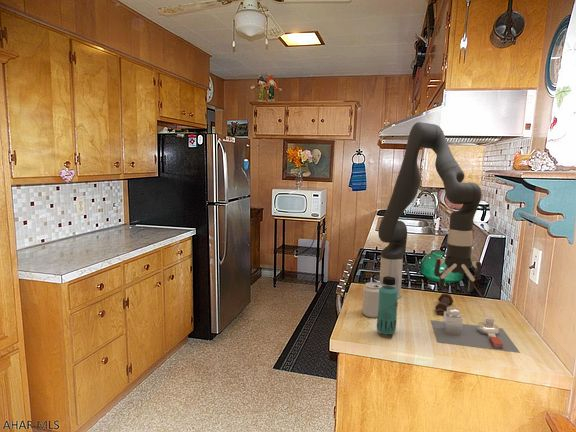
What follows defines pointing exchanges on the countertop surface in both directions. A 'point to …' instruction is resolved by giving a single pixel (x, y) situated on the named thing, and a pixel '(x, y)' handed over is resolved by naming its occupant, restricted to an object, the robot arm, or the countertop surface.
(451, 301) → the bolt
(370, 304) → the can
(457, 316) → the metal block with knob
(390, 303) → the beverage bottle
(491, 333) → the ratchet
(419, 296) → the countertop surface
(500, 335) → the tool mat
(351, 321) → the countertop surface
